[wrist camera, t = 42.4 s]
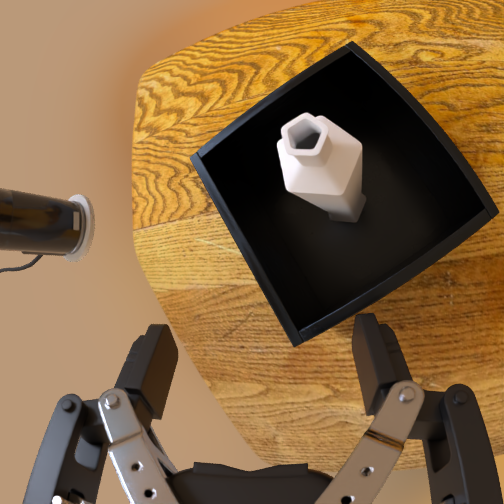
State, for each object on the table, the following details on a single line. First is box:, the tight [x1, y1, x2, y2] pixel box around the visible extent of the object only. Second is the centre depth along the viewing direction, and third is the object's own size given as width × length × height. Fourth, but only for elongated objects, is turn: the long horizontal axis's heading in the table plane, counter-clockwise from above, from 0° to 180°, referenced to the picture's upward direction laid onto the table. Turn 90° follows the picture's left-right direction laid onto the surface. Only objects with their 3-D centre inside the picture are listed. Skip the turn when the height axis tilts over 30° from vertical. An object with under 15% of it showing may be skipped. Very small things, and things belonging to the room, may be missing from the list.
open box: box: [190, 41, 499, 347], centre depth 22 cm, size 16×16×10 cm
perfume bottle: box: [277, 113, 366, 223], centre depth 19 cm, size 5×4×15 cm
